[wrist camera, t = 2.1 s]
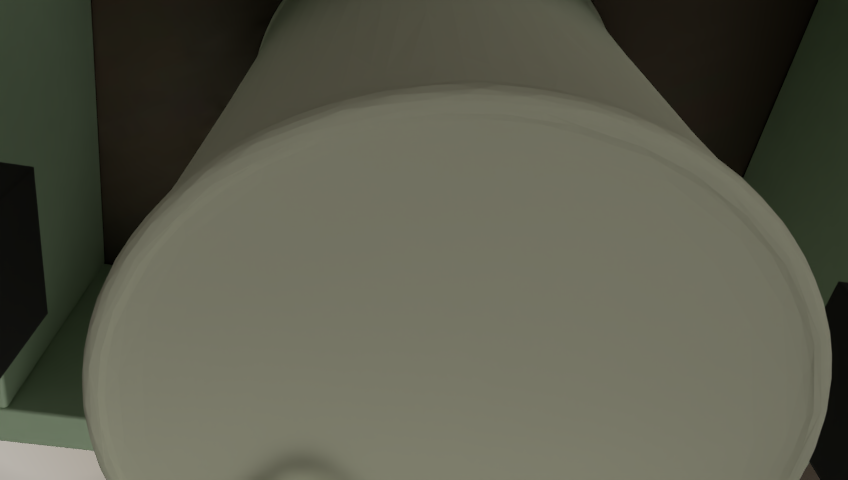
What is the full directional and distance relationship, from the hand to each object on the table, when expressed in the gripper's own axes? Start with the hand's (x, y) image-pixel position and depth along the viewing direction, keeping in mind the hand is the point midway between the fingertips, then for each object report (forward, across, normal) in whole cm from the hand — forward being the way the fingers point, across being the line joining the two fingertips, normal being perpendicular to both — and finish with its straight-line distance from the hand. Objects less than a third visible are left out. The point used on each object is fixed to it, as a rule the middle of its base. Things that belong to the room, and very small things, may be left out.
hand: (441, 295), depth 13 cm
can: (+8, 0, 0) cm, 8 cm away
